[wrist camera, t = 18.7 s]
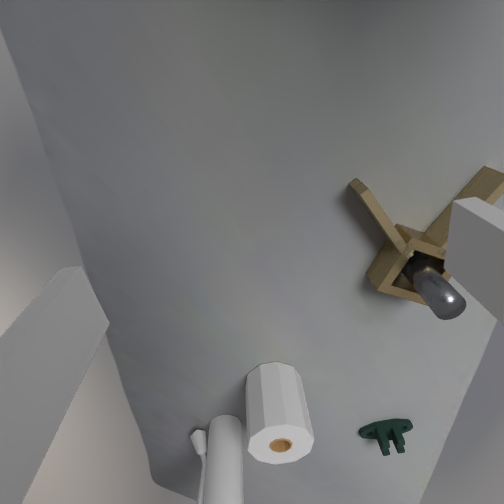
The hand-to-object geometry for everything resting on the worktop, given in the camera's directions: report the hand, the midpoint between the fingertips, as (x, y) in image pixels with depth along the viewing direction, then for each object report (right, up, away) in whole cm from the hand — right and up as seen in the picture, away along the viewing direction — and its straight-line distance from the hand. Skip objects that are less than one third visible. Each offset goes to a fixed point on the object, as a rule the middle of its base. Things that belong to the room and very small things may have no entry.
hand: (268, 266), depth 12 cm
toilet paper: (+3, -23, +50) cm, 55 cm away
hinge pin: (+22, 0, +38) cm, 44 cm away
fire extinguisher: (-7, -34, +55) cm, 65 cm away
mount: (+27, -36, +58) cm, 74 cm away
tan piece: (+20, +5, +34) cm, 40 cm away
